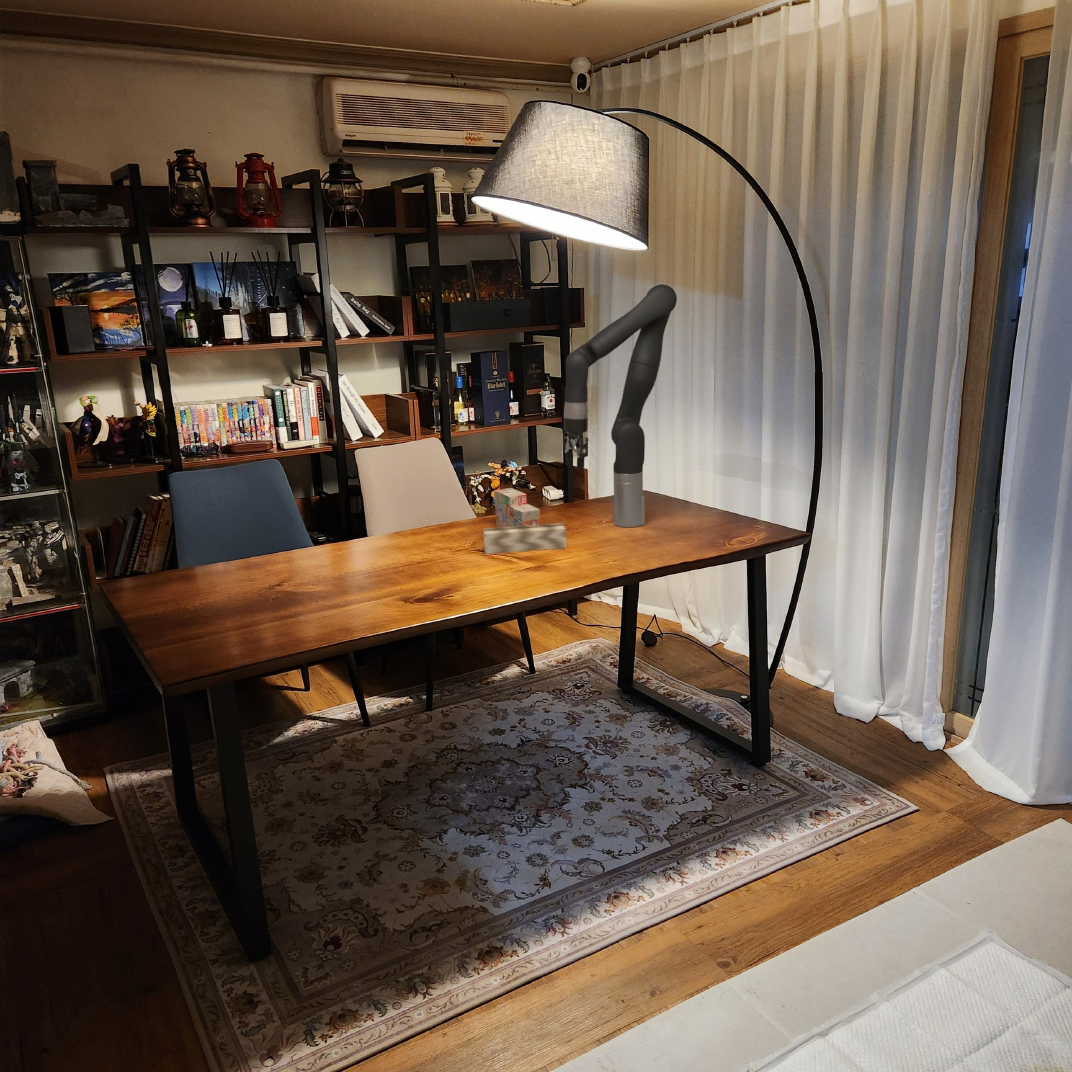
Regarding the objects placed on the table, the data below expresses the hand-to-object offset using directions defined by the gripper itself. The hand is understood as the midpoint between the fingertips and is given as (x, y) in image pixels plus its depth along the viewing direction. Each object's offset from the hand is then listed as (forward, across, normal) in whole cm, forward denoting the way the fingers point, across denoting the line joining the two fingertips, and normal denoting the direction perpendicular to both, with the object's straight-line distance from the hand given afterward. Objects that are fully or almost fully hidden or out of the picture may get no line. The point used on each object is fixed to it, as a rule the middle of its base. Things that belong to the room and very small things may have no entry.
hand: (574, 467), depth 293 cm
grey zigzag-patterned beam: (+20, -18, +24) cm, 36 cm away
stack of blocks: (+20, +1, +19) cm, 28 cm away
